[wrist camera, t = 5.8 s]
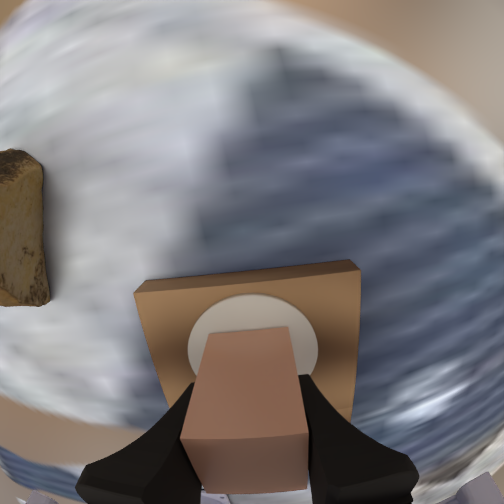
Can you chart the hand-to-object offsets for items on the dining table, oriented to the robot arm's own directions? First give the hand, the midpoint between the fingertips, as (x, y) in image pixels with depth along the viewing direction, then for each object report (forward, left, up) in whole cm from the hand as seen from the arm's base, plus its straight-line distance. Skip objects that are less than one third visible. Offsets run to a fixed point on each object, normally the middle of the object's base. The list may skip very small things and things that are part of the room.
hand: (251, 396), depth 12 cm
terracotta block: (0, 0, -3) cm, 3 cm away
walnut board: (-4, 0, -6) cm, 7 cm away
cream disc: (0, 0, -4) cm, 4 cm away
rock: (+9, +15, -6) cm, 18 cm away
